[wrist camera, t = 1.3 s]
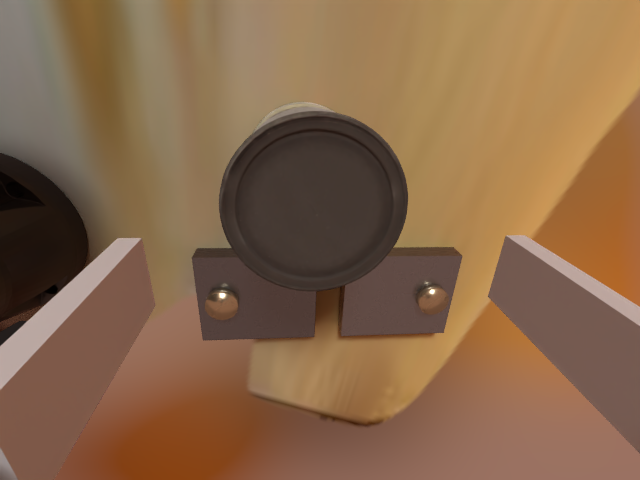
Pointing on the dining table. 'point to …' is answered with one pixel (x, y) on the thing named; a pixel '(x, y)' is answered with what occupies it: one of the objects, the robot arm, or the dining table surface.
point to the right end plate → (402, 294)
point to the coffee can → (312, 199)
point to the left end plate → (247, 301)
